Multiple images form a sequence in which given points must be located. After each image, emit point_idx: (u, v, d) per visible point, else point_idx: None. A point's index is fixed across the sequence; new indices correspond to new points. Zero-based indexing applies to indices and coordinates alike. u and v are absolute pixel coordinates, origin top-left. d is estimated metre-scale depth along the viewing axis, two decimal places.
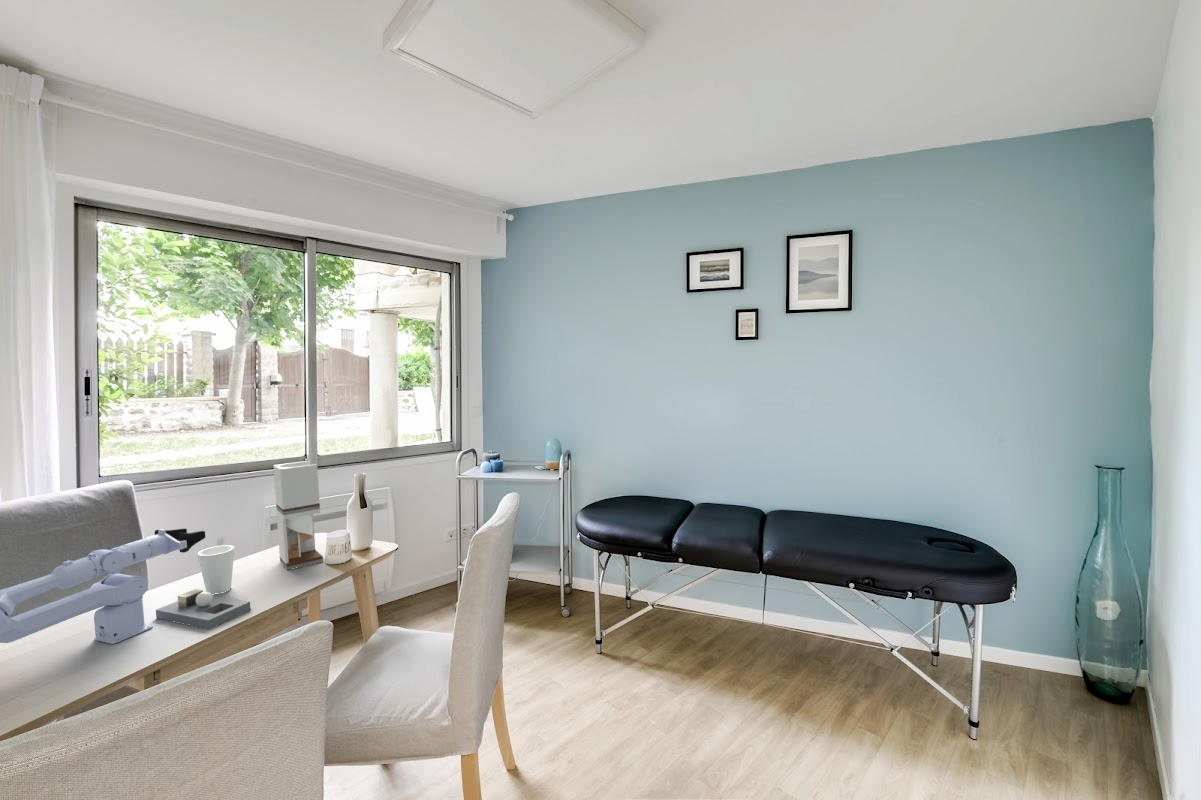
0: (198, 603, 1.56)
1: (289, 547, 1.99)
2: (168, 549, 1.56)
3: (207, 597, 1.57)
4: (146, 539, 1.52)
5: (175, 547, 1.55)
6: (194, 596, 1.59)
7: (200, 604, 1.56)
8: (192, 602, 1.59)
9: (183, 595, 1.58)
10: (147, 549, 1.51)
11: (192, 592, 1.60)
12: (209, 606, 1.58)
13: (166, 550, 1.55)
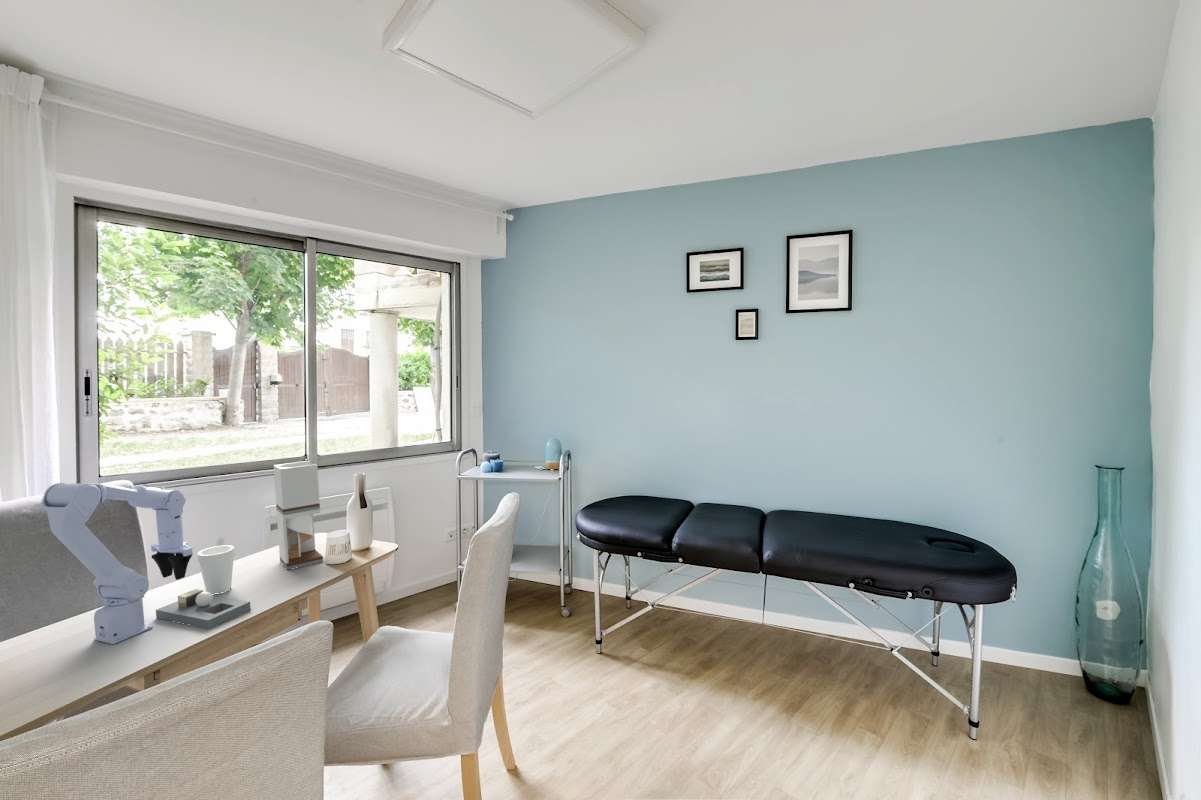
0: (198, 603, 1.56)
1: (289, 547, 1.99)
2: (172, 548, 1.59)
3: (207, 597, 1.57)
4: None
5: None
6: (194, 596, 1.59)
7: (200, 604, 1.56)
8: (192, 602, 1.59)
9: (183, 595, 1.58)
10: (179, 527, 1.61)
11: (192, 592, 1.60)
12: (209, 606, 1.58)
13: (171, 547, 1.59)
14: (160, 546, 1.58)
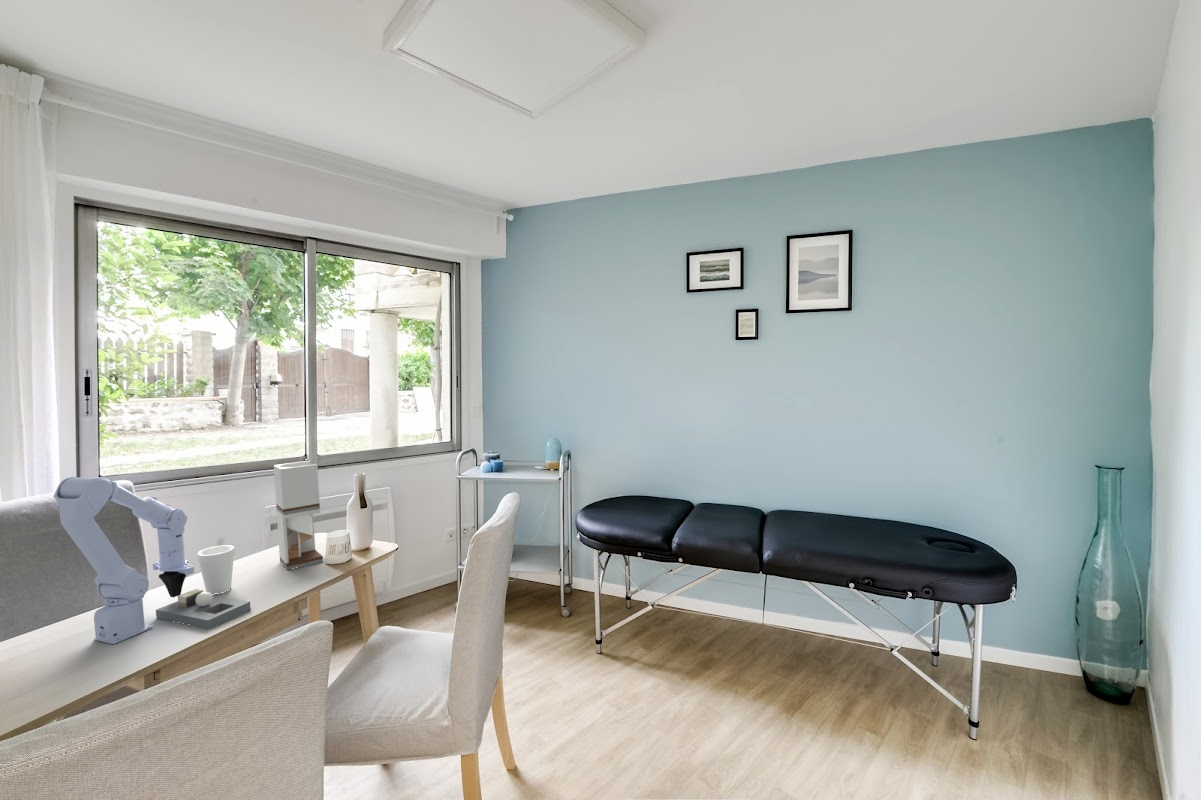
0: (198, 603, 1.56)
1: (289, 547, 1.99)
2: (173, 567, 1.59)
3: (207, 597, 1.57)
4: None
5: None
6: (194, 596, 1.59)
7: (200, 604, 1.56)
8: (192, 602, 1.59)
9: (183, 595, 1.58)
10: (181, 546, 1.61)
11: (192, 592, 1.60)
12: (209, 606, 1.58)
13: (172, 566, 1.59)
14: (162, 565, 1.59)
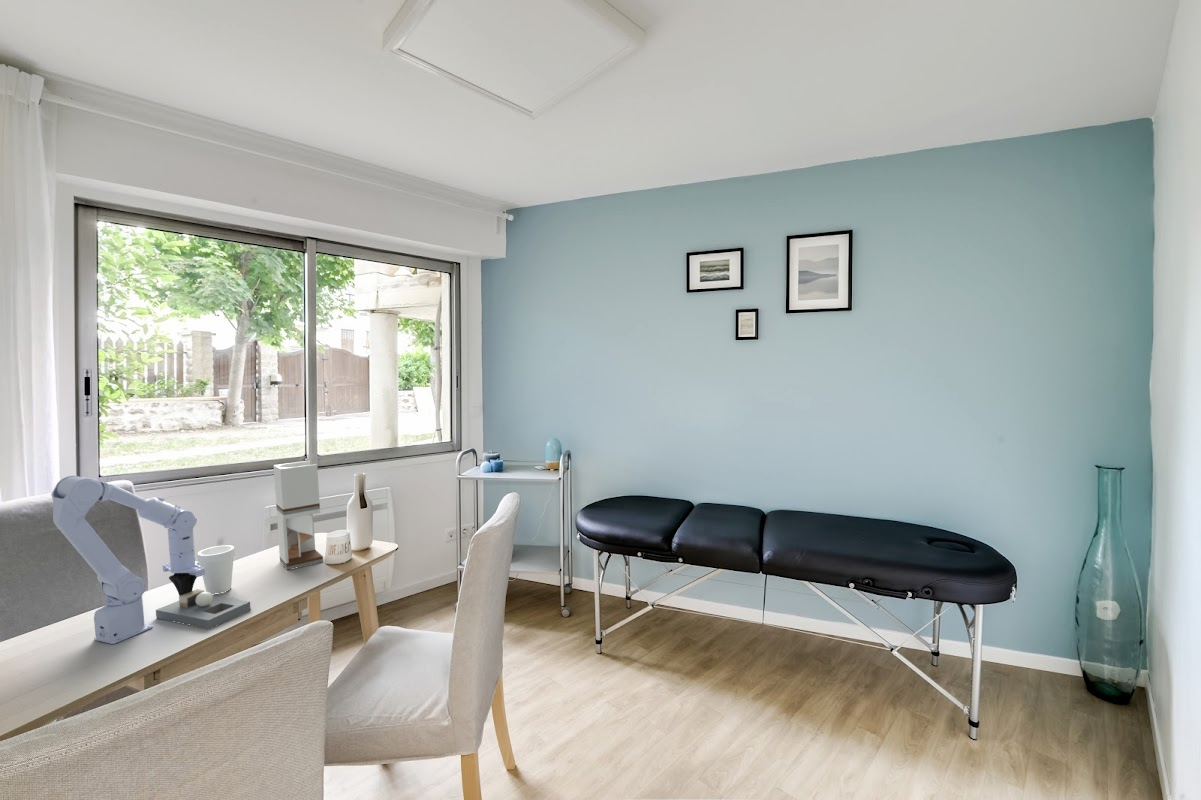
0: (198, 603, 1.56)
1: (289, 547, 1.99)
2: (184, 568, 1.58)
3: (207, 597, 1.57)
4: None
5: None
6: (195, 596, 1.59)
7: (200, 604, 1.56)
8: (193, 602, 1.58)
9: (184, 595, 1.58)
10: (189, 548, 1.59)
11: (194, 593, 1.60)
12: (209, 606, 1.58)
13: (183, 567, 1.58)
14: (172, 567, 1.57)
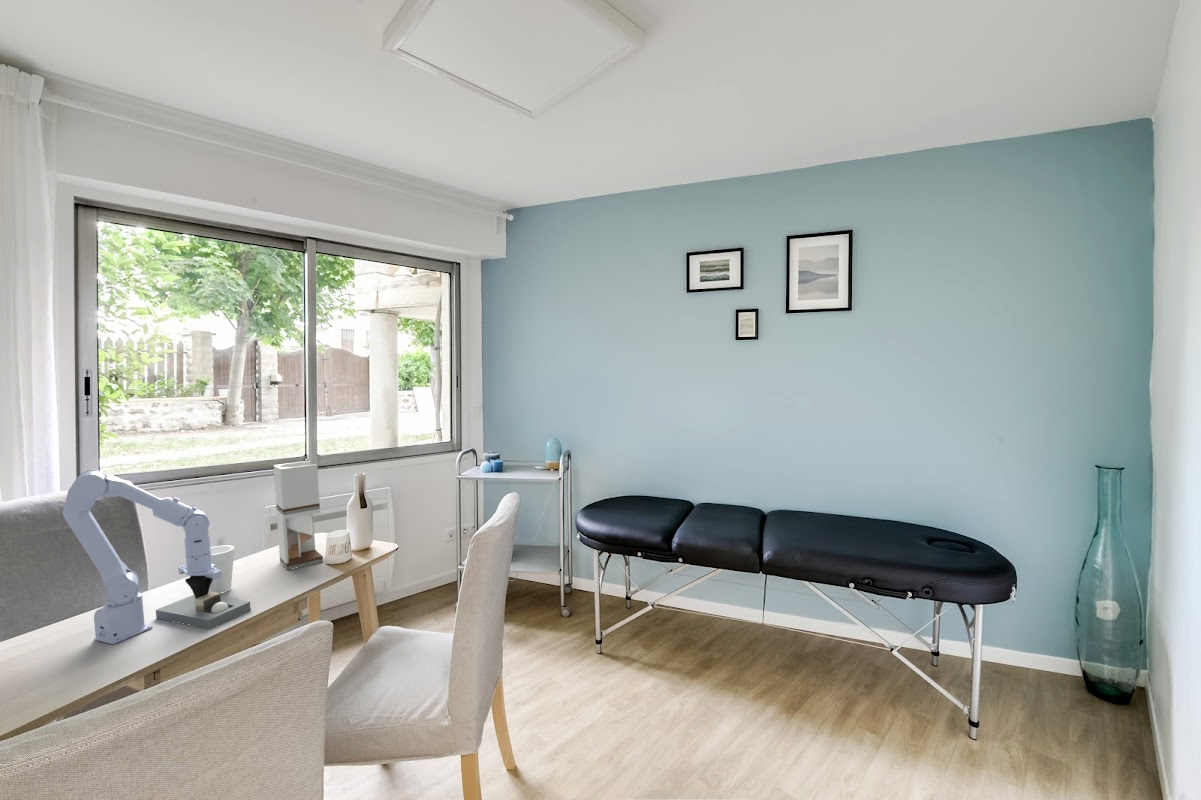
0: (212, 610, 1.54)
1: (289, 547, 1.99)
2: (200, 571, 1.56)
3: None
4: None
5: (209, 573, 1.55)
6: (211, 599, 1.57)
7: (212, 608, 1.55)
8: (209, 605, 1.56)
9: (200, 598, 1.56)
10: (201, 552, 1.56)
11: (210, 596, 1.58)
12: None
13: (199, 570, 1.56)
14: (188, 569, 1.55)
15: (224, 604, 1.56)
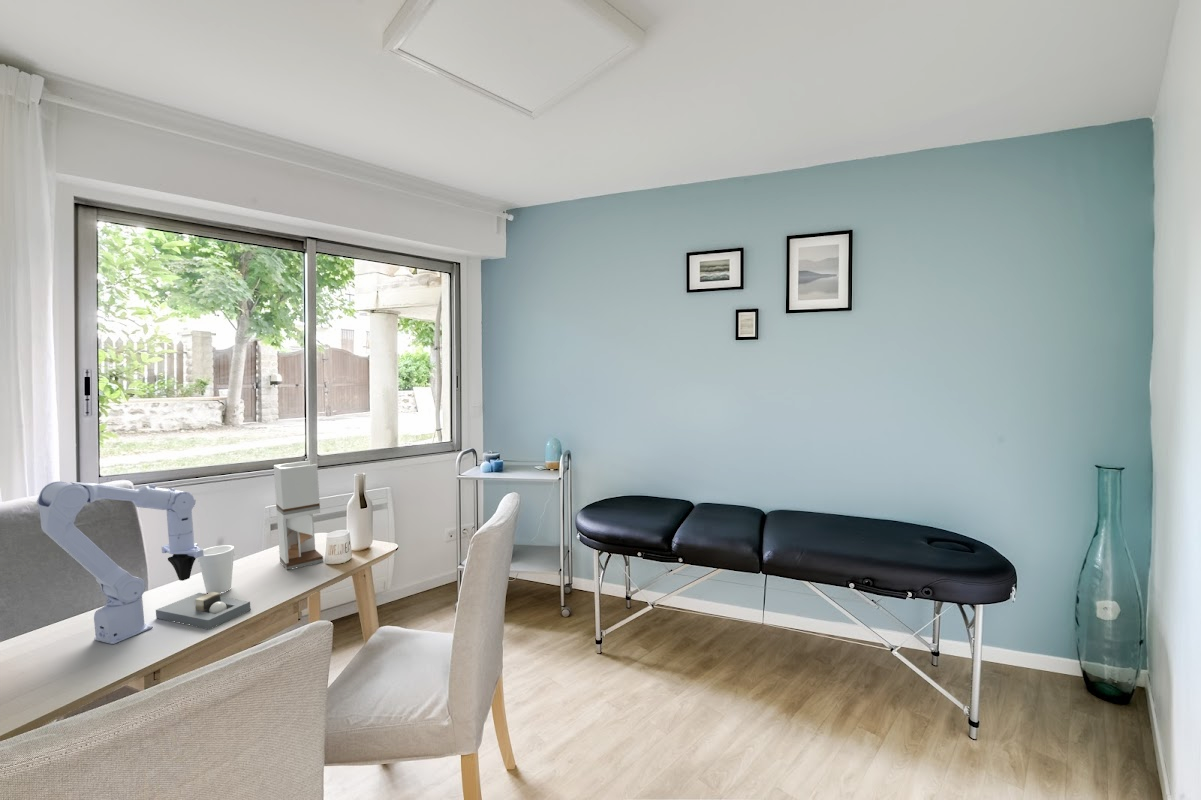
0: (210, 610, 1.55)
1: (289, 547, 1.99)
2: (183, 550, 1.57)
3: None
4: None
5: None
6: (211, 599, 1.57)
7: None
8: (209, 605, 1.56)
9: (200, 598, 1.56)
10: (188, 530, 1.58)
11: (210, 595, 1.58)
12: None
13: (182, 548, 1.57)
14: (171, 548, 1.57)
15: (221, 602, 1.56)
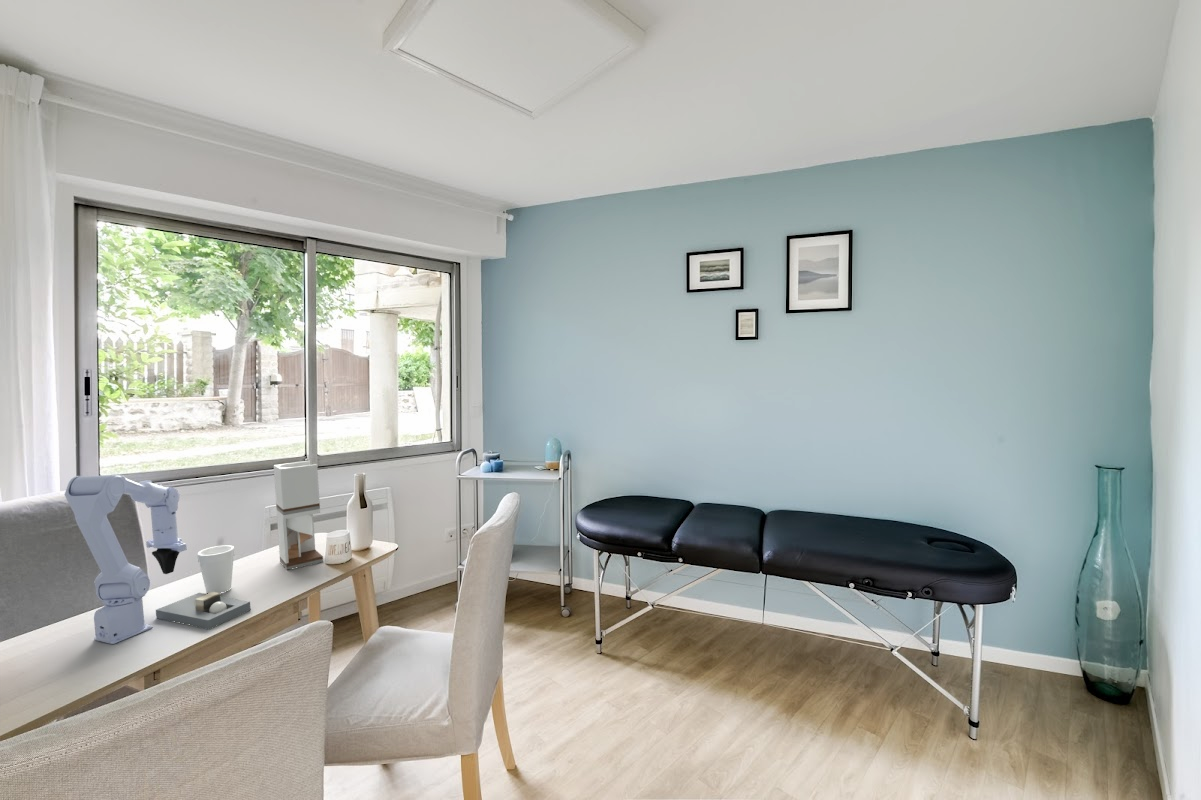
0: (210, 610, 1.55)
1: (289, 547, 1.99)
2: (166, 544, 1.63)
3: None
4: None
5: None
6: (211, 599, 1.57)
7: None
8: (209, 605, 1.56)
9: (200, 598, 1.56)
10: (175, 523, 1.65)
11: (210, 595, 1.58)
12: None
13: (165, 543, 1.63)
14: (155, 542, 1.62)
15: (221, 602, 1.56)
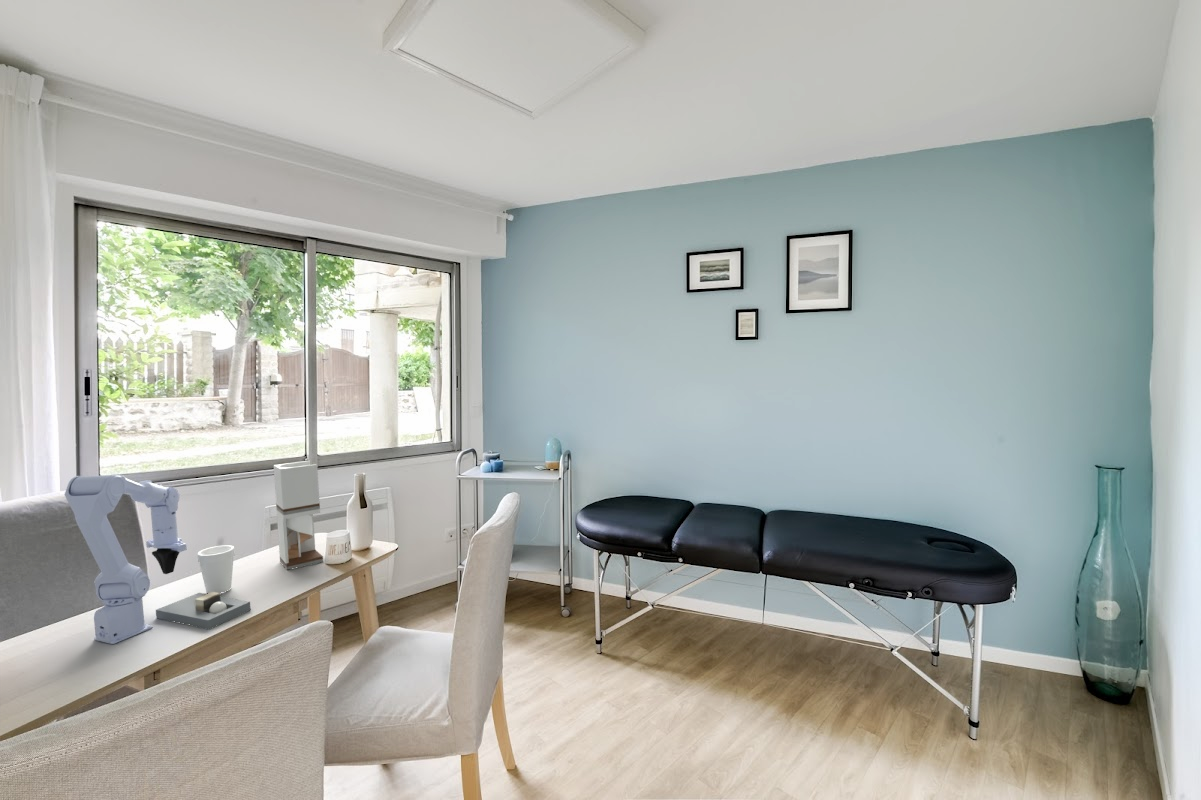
0: (210, 610, 1.55)
1: (289, 547, 1.99)
2: (166, 544, 1.63)
3: None
4: None
5: None
6: (211, 599, 1.57)
7: None
8: (209, 605, 1.56)
9: (200, 598, 1.56)
10: (175, 523, 1.65)
11: (210, 595, 1.58)
12: None
13: (165, 543, 1.63)
14: (155, 542, 1.62)
15: (221, 602, 1.56)
